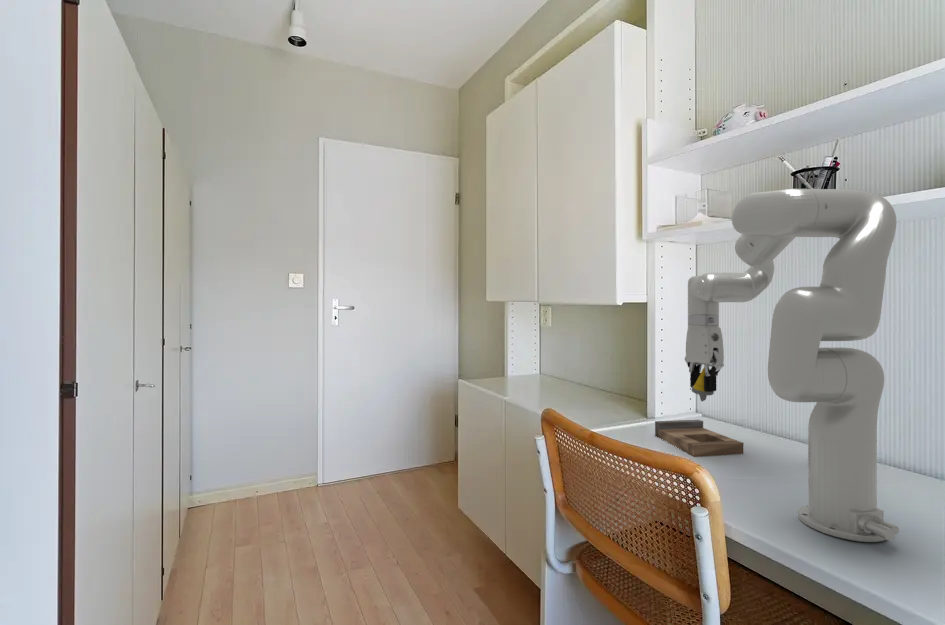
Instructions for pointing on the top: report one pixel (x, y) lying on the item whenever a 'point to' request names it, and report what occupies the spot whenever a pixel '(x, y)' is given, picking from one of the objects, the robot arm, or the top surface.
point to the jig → (696, 438)
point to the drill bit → (701, 387)
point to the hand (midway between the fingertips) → (703, 388)
